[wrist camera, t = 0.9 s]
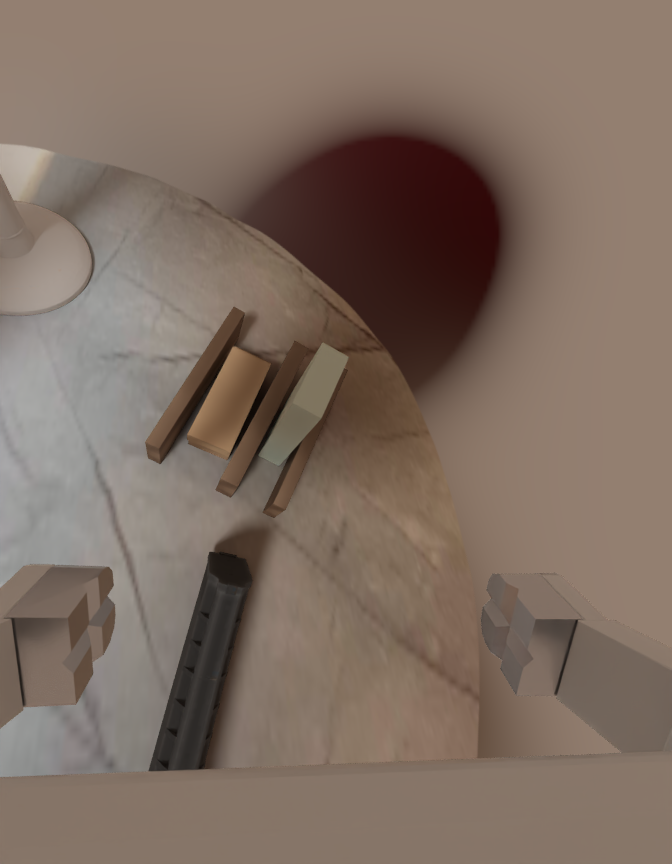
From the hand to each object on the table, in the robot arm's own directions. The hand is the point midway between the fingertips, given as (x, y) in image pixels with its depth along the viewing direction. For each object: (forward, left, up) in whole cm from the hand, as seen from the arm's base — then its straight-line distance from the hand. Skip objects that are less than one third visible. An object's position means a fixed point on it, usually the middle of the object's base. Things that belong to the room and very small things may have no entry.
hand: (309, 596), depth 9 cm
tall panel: (0, +16, -32) cm, 36 cm away
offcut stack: (-6, +16, -32) cm, 37 cm away
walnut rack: (-4, +16, -32) cm, 36 cm away
